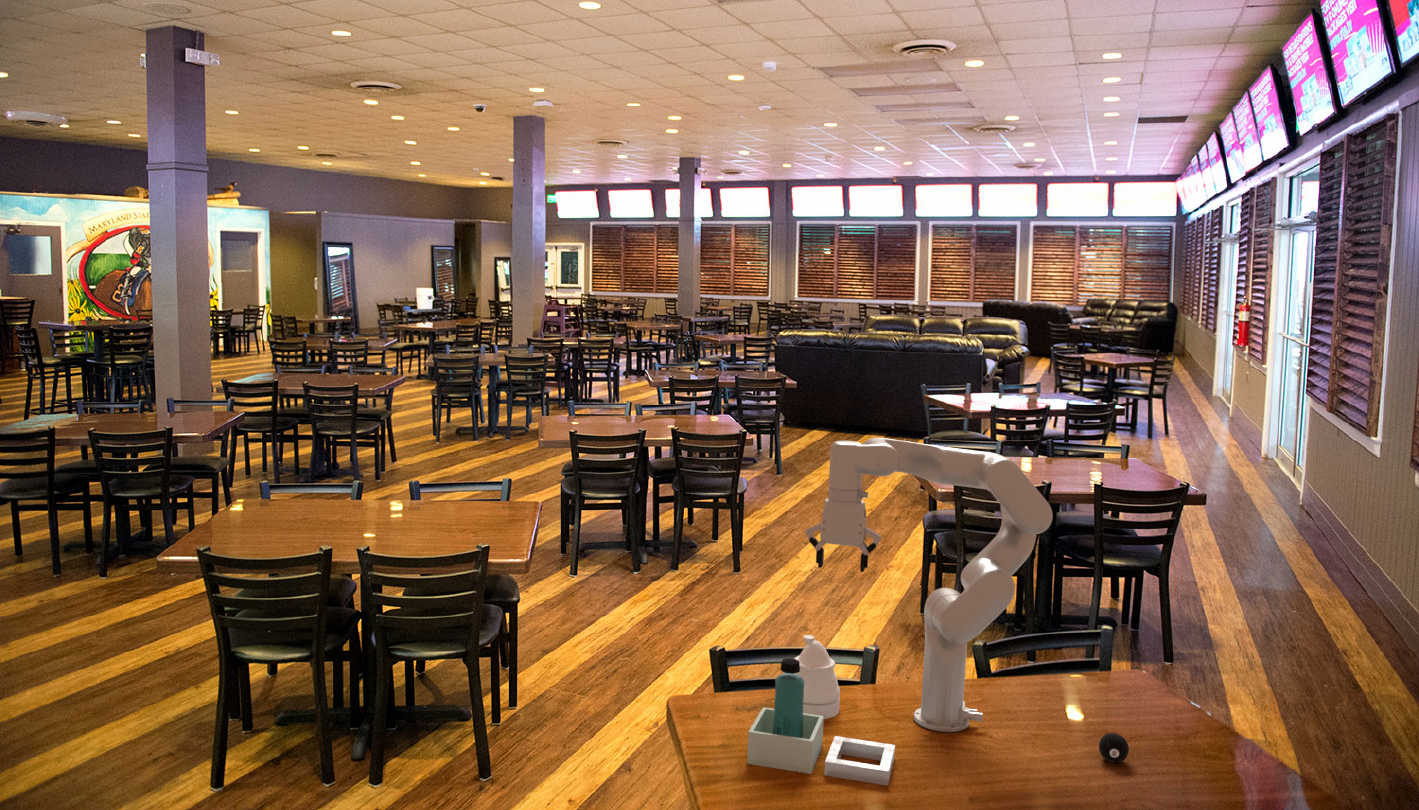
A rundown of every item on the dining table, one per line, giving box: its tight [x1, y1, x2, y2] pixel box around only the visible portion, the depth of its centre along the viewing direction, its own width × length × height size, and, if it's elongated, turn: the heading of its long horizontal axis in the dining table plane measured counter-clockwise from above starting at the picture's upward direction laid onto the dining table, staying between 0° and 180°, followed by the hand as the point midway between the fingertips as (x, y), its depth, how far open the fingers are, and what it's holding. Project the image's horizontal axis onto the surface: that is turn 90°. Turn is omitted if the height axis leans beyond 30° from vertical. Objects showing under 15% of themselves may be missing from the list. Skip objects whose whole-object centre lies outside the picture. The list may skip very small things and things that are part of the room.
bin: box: [746, 706, 825, 775], centre depth 220 cm, size 14×14×7 cm
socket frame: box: [823, 735, 896, 787], centre depth 215 cm, size 13×13×3 cm
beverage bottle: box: [773, 657, 804, 738], centre depth 219 cm, size 6×7×20 cm
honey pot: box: [794, 634, 841, 720], centre depth 245 cm, size 13×13×18 cm
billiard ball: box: [1098, 732, 1130, 763], centre depth 222 cm, size 6×6×6 cm
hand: (841, 568), depth 235 cm, fingers open, 9 cm apart
